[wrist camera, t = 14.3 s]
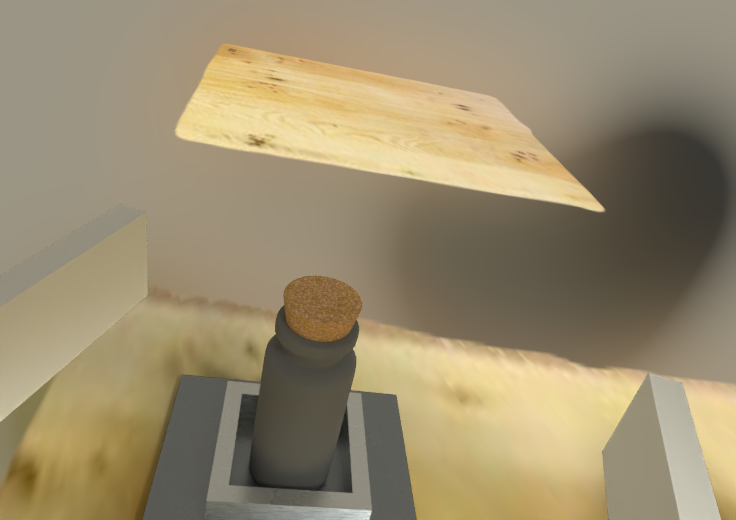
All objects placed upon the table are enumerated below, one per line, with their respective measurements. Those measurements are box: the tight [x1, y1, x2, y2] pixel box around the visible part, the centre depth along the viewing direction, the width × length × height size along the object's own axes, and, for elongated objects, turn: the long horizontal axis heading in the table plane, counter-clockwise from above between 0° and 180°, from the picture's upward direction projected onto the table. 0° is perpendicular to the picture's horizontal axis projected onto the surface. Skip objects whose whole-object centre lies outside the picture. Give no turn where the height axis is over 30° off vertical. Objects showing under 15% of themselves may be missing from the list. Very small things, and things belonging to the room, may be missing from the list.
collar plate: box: [142, 375, 417, 520], centre depth 42 cm, size 18×16×4 cm
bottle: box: [250, 276, 362, 491], centre depth 38 cm, size 6×6×15 cm
